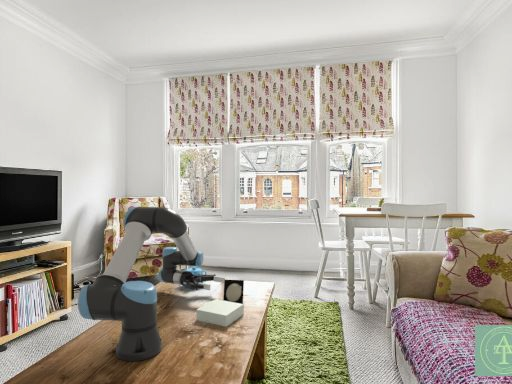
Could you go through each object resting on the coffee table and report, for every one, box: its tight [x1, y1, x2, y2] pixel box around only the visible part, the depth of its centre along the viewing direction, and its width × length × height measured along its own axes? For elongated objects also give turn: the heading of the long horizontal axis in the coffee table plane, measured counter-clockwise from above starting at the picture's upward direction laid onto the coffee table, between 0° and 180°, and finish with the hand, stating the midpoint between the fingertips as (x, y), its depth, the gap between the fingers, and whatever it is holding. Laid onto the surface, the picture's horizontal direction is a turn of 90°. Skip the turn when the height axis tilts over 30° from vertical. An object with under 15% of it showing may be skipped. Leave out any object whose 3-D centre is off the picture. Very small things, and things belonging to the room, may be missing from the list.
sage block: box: [196, 298, 245, 327], centre depth 146 cm, size 15×15×5 cm
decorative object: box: [222, 279, 245, 304], centre depth 164 cm, size 12×10×10 cm
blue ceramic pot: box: [182, 266, 208, 289], centre depth 194 cm, size 13×14×11 cm
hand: (217, 283), depth 168 cm, fingers open, 13 cm apart
